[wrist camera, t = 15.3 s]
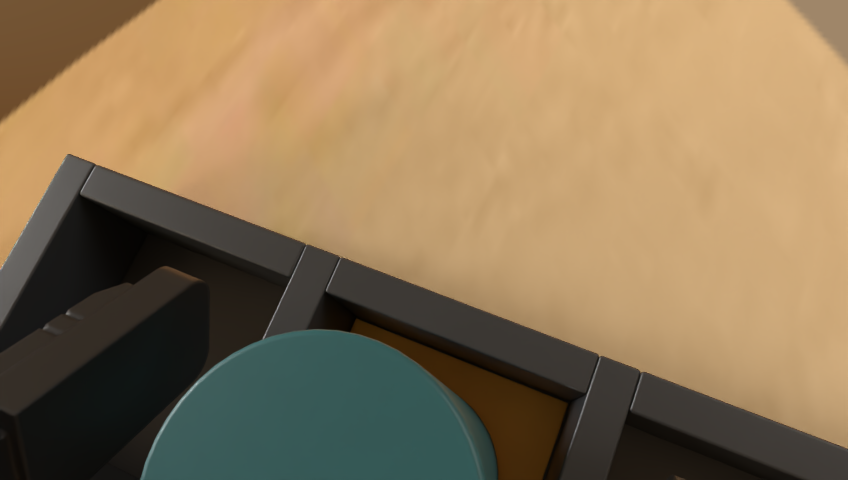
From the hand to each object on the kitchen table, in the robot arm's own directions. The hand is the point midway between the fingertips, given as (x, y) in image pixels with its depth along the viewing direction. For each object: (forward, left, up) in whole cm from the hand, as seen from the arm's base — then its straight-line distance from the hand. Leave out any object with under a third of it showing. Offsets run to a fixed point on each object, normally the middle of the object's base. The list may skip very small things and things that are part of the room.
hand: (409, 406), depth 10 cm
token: (0, +1, -5) cm, 5 cm away
